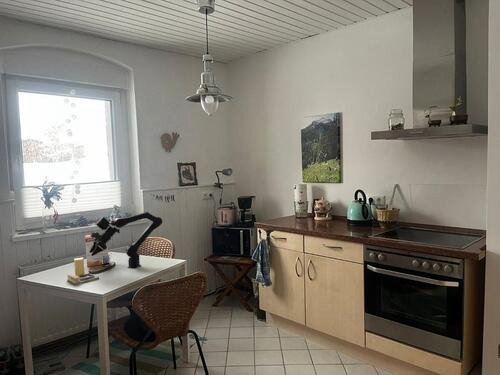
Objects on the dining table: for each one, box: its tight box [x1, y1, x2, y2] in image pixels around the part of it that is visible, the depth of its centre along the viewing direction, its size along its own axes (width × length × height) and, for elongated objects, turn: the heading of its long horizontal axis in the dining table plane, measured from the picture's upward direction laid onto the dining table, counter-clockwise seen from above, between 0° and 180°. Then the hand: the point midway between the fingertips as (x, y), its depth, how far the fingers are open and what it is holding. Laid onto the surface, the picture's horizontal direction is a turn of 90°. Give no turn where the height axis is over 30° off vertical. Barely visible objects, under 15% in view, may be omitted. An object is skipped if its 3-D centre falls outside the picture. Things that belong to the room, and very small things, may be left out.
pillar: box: [73, 257, 86, 276], centre depth 231 cm, size 5×5×11 cm
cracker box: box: [84, 234, 109, 267], centre depth 257 cm, size 14×6×21 cm, turn 112°
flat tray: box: [66, 273, 100, 286], centre depth 223 cm, size 14×12×4 cm
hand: (90, 254), depth 234 cm, fingers open, 9 cm apart
